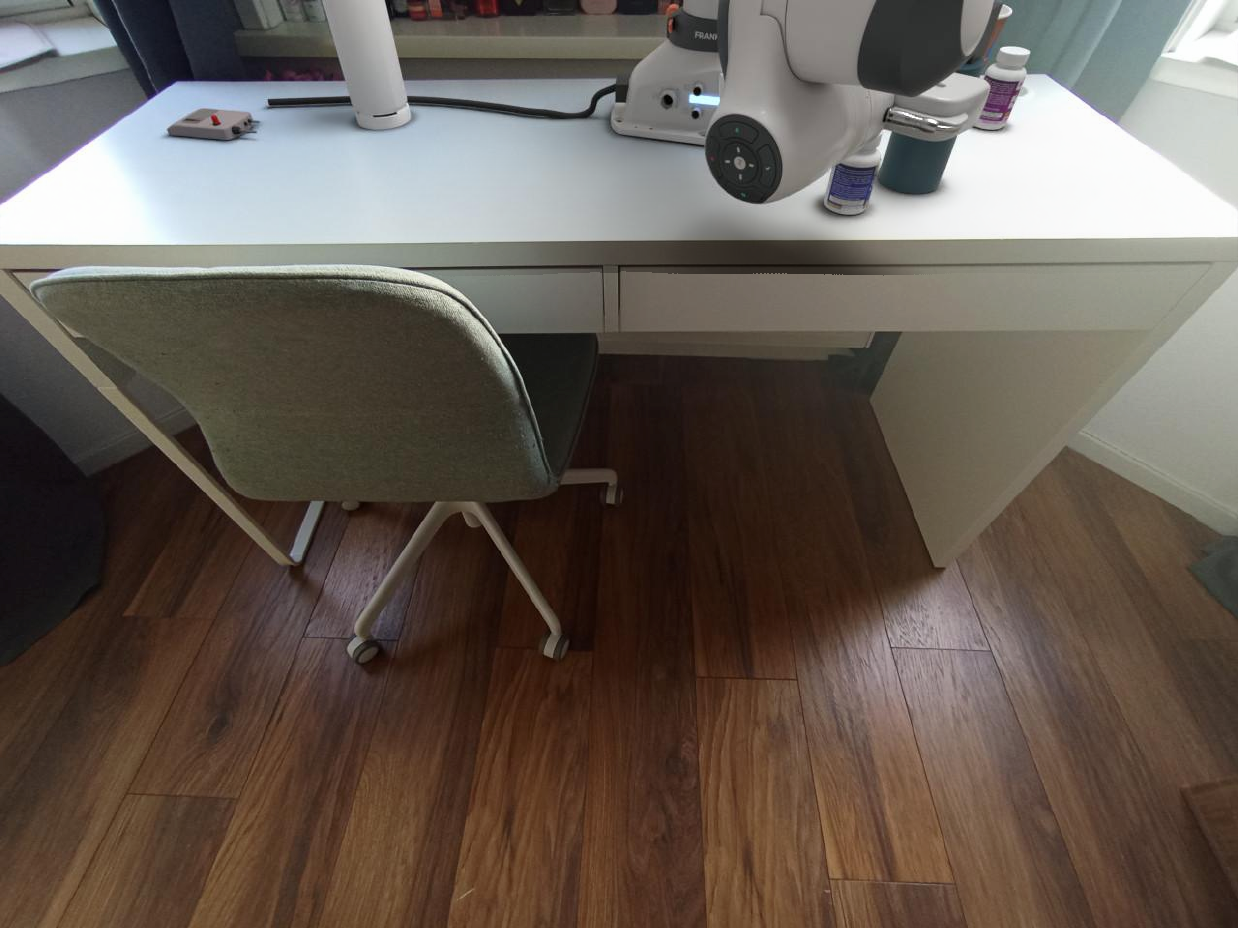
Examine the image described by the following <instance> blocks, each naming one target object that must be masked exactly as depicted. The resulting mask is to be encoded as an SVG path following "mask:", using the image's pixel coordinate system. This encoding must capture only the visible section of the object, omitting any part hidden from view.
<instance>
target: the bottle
mask: <svg viewBox="0 0 1238 928" xmlns="http://www.w3.org/2000/svg"><path fill="white" fill-rule="evenodd" d="M321 3H322V6H323V9H324V13H325V16H326V20H327V22H328V27H329V30H330V33H331V37H332V40H333V43H334V47H335V50H336V53H337V57H338V60H339V61H338V62H339V64H340V67H341V71H342V74H343V78H344V81H345V84H346V89H347V91H348V94H349V95H348V96H350V98H351V102H352V103H351V105H352V107H353V112H354V115H355V119H356V122H357V124H358V126H360V127H361V128H364V129H366V130H374V131H376V130H378V131H380V130H391V129H396V128H398V127H402V126H404V125H406V124H408V123H409V122H410V121H411V120H412V113H411V108H410V105H409V103H407V96H408V94H407V91H406V88H405V87H406V86H405V81H404V78H403V73H402V69H401V66H400V60H399V57H398V52H397V47H396V44H395V39H394V34H393V31H392V25H391V22H390V17H389V13H388V8H387V5H386V0H321ZM395 113H396V114H395ZM390 114H392V115H390ZM383 115H387V116H383ZM374 116H375V117H374Z"/></svg>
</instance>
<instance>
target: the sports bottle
mask: <svg viewBox="0 0 1238 928" xmlns="http://www.w3.org/2000/svg"><path fill="white" fill-rule="evenodd" d="M1003 4H1004V3H1003V2H998V1H994V2H993V7H992V11H991V14H990V18H989V21H988V24H987V26H986V29H985V31H984V33H983V36H982V38H981V41H980V43H979V45H978V48H977V50H976V51H975V53H974V55H973V56H972V57H971V58H970V59H969V60H968V61H967V62H966V63H965V64H964V65H963V66H962V67H960V68H959V69H958V70H957V71H955V72H954V73H959V74H963V75H968V76H972V77H977V78H981V74H982V72H983V70H984V68H985V66H984V64H985V61H984V60H983V59H982V58H981V57H982V56H983V55H984V54H985V51H986V49H987V46H988V43H989V41H990V38H991V35H992V32H993V30H994V27H995V24H996V22H997V19H998V16H999V14H1000V11H1001V8H1002V6H1003ZM985 65H986V64H985ZM983 67H984V68H983ZM982 69H983V70H982ZM890 132H891V133H890V136H889V139H888V142H887V145H886V149H885V153H884V155H883V158H882V162H881V165H880V167H879V168H880V169H879V171H878V175H877V179H878V181H879V183H880V184H881V185H882V186H884V187H885V188H887V189H889V190H892V191H895V192H899V193H903V194H910V195H911V194H912V195H924V194H928V193H932V192H934V191H936V190H937V189H938V188H939V186H940V183H941V180H942V177H943V176H944V174H945V173H944V172H945V170H946V167H947V164H948V162H949V160H950V157H951V154H952V151H953V149H954V146H955V143H956V141H957V138H958V136H959V135H957V136H955V137H953V138H950V139H947V140H944V141H927V140H921V139H917V138H914V137H910V136H906V135H903V134H899V133H896V132H892V131H890Z"/></svg>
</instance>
